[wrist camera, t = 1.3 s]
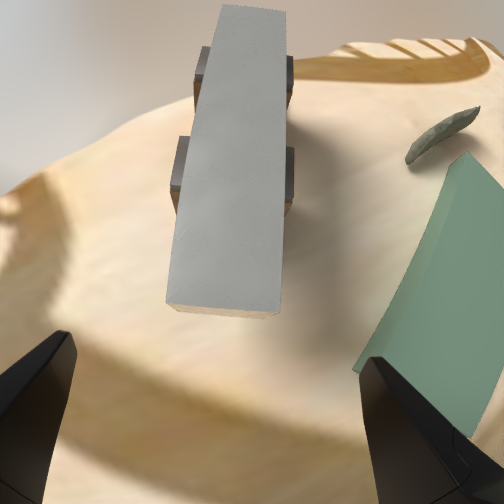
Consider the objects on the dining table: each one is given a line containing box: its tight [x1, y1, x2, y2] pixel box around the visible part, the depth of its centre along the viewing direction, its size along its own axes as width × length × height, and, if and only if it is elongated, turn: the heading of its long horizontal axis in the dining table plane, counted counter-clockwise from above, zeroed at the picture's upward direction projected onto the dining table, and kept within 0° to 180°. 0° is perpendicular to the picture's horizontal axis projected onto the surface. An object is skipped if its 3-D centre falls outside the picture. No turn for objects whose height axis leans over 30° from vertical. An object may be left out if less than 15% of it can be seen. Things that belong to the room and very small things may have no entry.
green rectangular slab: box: [352, 151, 504, 438], centre depth 22 cm, size 22×12×3 cm, turn 144°
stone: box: [405, 106, 480, 165], centre depth 25 cm, size 13×2×5 cm, turn 125°
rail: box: [166, 4, 286, 319], centre depth 15 cm, size 18×4×4 cm, turn 176°
